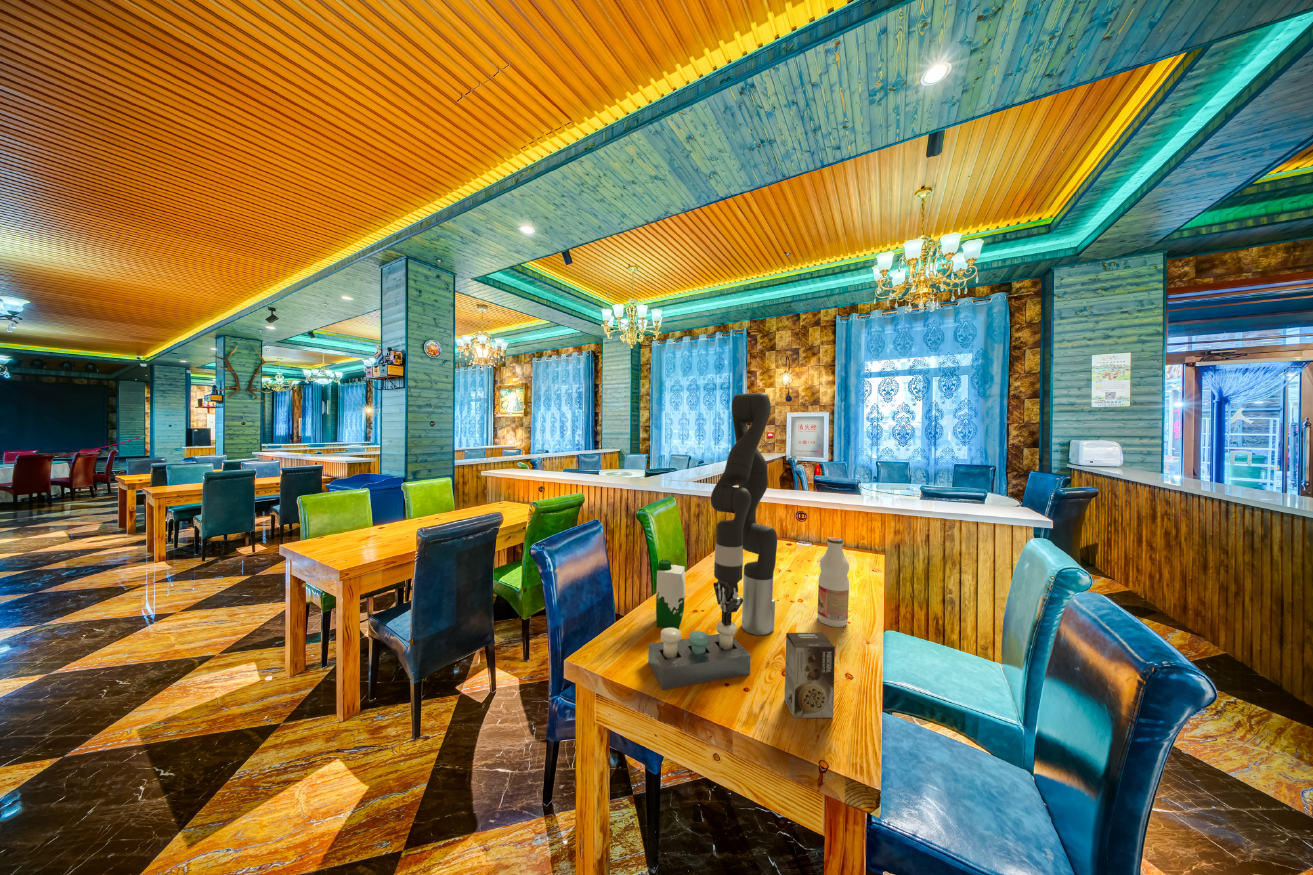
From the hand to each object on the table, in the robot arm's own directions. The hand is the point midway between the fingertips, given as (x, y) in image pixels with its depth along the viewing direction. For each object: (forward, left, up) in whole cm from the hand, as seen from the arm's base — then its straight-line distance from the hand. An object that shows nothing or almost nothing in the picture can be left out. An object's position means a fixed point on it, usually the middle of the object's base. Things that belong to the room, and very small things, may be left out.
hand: (726, 624), depth 108 cm
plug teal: (+8, 0, -8) cm, 11 cm away
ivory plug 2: (0, 0, -6) cm, 6 cm away
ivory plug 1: (+16, 0, -6) cm, 17 cm away
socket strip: (+8, 0, -11) cm, 13 cm away
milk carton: (+7, -25, -11) cm, 28 cm away
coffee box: (-10, +21, -11) cm, 26 cm away
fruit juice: (-47, -13, -11) cm, 50 cm away
